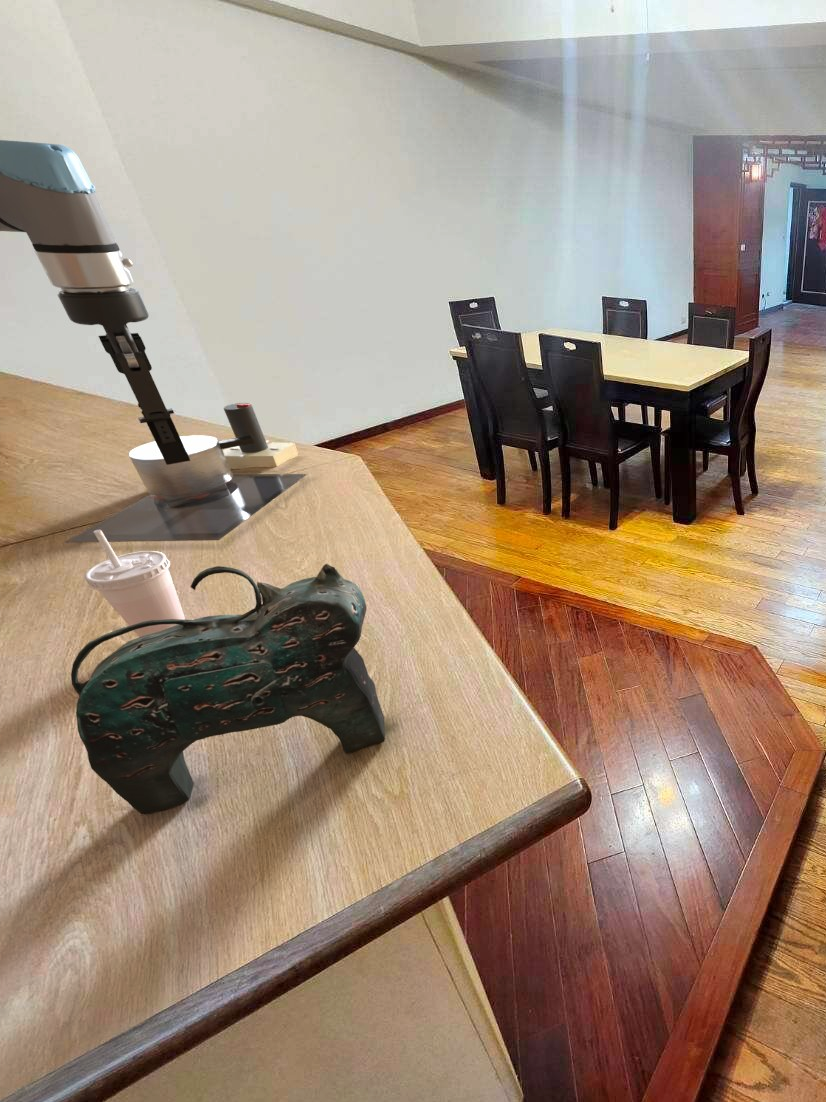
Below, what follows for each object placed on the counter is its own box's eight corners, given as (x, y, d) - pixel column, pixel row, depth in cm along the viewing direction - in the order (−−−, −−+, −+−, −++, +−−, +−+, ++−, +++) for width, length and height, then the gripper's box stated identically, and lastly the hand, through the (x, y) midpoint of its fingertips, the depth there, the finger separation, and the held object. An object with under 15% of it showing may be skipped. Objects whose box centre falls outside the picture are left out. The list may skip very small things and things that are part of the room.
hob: (66, 545, 82) (64, 542, 82) (187, 476, 103) (185, 474, 103) (220, 542, 84) (218, 539, 84) (308, 476, 105) (307, 473, 105)
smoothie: (128, 636, 66) (59, 527, 59) (200, 614, 70) (144, 509, 63) (132, 664, 62) (59, 551, 55) (208, 639, 66) (150, 530, 59)
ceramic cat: (404, 705, 59) (342, 530, 49) (407, 751, 54) (339, 568, 44) (146, 779, 51) (6, 587, 40) (122, 841, 46) (-44, 642, 36)
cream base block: (216, 470, 106) (210, 456, 104) (244, 453, 113) (239, 440, 111) (276, 470, 107) (270, 456, 105) (300, 453, 114) (295, 440, 112)
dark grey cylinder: (236, 452, 106) (217, 407, 102) (249, 444, 110) (231, 401, 106) (259, 452, 107) (241, 407, 103) (272, 445, 110) (255, 401, 106)
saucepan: (154, 508, 91) (132, 465, 88) (146, 486, 98) (125, 445, 94) (273, 482, 101) (257, 442, 97) (259, 463, 108) (243, 425, 104)
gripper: (142, 293, 74) (218, 468, 86) (131, 281, 81) (202, 443, 93) (56, 296, 69) (149, 481, 81) (53, 283, 76) (139, 454, 88)
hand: (177, 461), depth 87 cm, fingers closed
